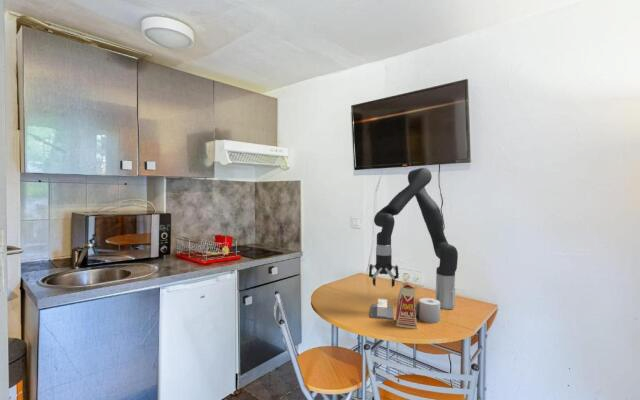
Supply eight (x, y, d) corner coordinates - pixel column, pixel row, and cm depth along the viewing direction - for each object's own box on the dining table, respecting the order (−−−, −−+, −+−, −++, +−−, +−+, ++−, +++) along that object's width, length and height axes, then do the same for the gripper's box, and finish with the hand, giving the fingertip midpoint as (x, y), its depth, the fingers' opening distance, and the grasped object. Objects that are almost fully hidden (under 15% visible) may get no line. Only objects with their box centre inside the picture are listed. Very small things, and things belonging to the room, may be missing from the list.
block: (377, 306, 153) (378, 298, 165) (377, 315, 153) (377, 307, 165) (387, 307, 152) (387, 299, 164) (386, 316, 152) (386, 307, 164)
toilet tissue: (408, 316, 156) (408, 298, 156) (433, 314, 158) (434, 297, 158) (416, 323, 147) (417, 305, 147) (443, 322, 149) (444, 304, 149)
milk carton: (417, 328, 142) (419, 283, 141) (396, 326, 144) (397, 282, 143) (415, 320, 151) (417, 278, 150) (395, 318, 152) (396, 276, 152)
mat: (371, 306, 168) (371, 304, 168) (393, 308, 166) (393, 306, 166) (369, 317, 153) (370, 315, 153) (393, 319, 151) (393, 318, 151)
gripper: (398, 252, 161) (398, 284, 161) (369, 251, 163) (369, 283, 164) (398, 255, 153) (398, 289, 154) (368, 254, 156) (368, 287, 157)
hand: (383, 286), depth 159 cm, fingers open, 8 cm apart
